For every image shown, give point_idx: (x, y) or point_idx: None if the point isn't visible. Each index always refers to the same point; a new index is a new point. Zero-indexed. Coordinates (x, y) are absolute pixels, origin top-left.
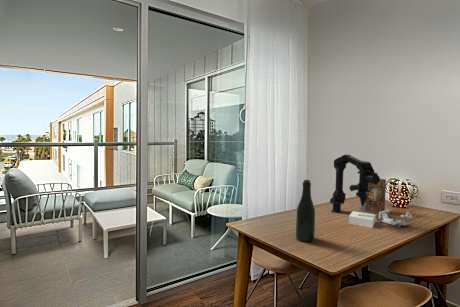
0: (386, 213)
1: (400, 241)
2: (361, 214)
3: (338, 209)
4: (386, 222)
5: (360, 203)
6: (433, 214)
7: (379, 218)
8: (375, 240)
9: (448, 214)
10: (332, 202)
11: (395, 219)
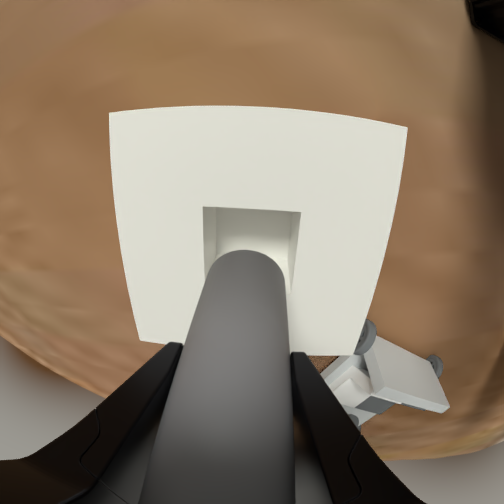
0: (398, 402)
1: (70, 379)
2: (297, 239)
3: (496, 10)
4: (325, 372)
5: (197, 346)
6: (491, 429)
7: (356, 351)
8: (4, 300)
9: (487, 443)
10: None
11: (367, 410)
